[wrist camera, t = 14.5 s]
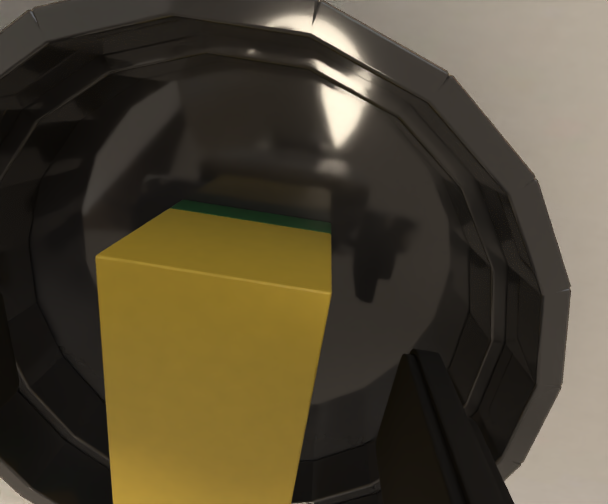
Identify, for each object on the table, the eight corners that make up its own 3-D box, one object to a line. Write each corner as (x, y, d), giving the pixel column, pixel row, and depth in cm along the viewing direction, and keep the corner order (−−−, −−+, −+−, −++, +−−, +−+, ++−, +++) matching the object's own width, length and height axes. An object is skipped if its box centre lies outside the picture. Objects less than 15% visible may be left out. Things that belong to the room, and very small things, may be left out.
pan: (-24, -16, 10) (-235, -88, 6) (579, 77, 10) (731, 60, 6) (45, 432, 16) (-41, 531, 12) (420, 493, 16) (447, 612, 12)
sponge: (182, 199, 11) (93, 255, 7) (331, 222, 11) (332, 292, 7) (178, 383, 14) (112, 505, 10) (299, 403, 14) (285, 533, 10)
